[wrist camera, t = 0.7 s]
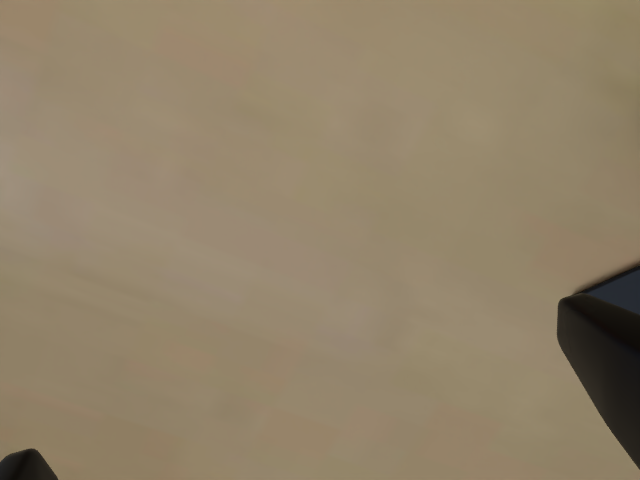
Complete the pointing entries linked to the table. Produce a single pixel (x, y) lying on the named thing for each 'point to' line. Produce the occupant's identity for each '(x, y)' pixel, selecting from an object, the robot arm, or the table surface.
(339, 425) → the table surface
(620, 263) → the table surface
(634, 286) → the mat
